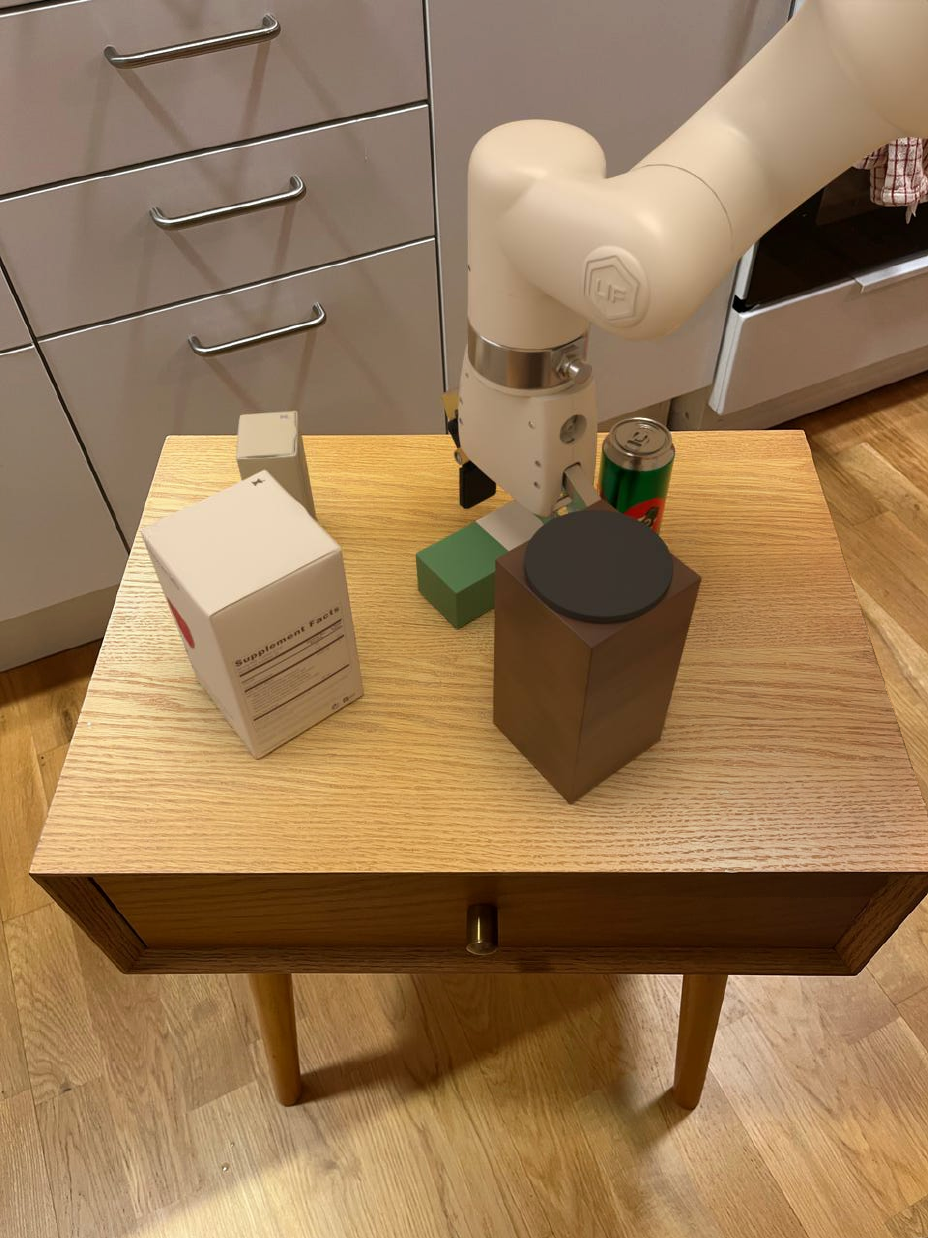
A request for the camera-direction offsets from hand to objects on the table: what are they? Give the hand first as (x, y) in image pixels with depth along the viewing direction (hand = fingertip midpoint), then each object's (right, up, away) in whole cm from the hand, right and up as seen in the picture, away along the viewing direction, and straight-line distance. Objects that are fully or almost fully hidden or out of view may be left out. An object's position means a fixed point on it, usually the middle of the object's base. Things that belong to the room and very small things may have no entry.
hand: (517, 535), depth 73 cm
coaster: (+3, -4, -21) cm, 21 cm away
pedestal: (+3, -14, -8) cm, 17 cm away
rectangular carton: (-17, -11, -5) cm, 21 cm away
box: (-18, 0, +4) cm, 18 cm away
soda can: (+8, -2, +2) cm, 9 cm away
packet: (-2, -3, +1) cm, 4 cm away
